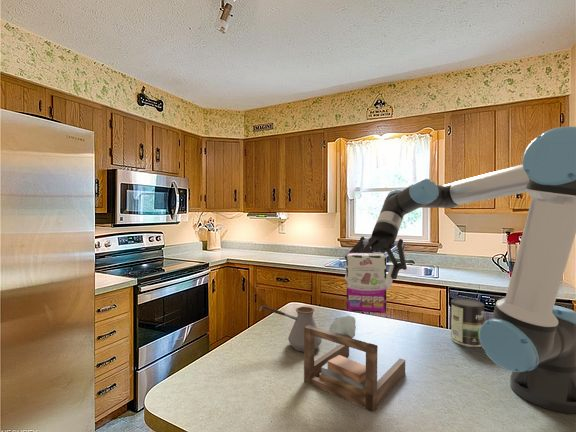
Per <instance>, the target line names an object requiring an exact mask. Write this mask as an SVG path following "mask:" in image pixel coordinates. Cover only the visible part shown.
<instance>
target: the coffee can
mask: <svg viewBox="0 0 576 432" xmlns="http://www.w3.org/2000/svg"><path fill="white" fill-rule="evenodd" d="M450 303H451V311H450V313H451V314H450V315H451V320H450V321H451V322H450V327H451V328H450V339H451V341H452V342H453V343H456V344H458V345H460V346H464V347H469V348H481V347H482V346H481V343H480V340H479V330H480V327H481V326H482V324H483V323H484V322H485V321H484V319H485V317H484V316H485V315H484V314H485V303H483V302H481V301H479V300H474V299H470V298H469V299H468V298H453V299H451V300H450Z"/></svg>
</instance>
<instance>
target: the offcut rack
mask: <svg viewBox="0 0 576 432" xmlns="http://www.w3.org/2000/svg"><path fill="white" fill-rule="evenodd" d="M314 336H316V337H319V338H322V340H326V341H330V342H333V343H336V344H339V345H336V346H335V347H334V348H332V349H331V350H329V351H328V352H326V353H324V354H323V355H322V356H320V357H318V358H316V359H315V350H314ZM378 346H379V345H377V344H375V343H374V344H373V343H371V342H370V343H369V342H366V341H362V340H359V339H356V338H354V337H353V338H349V337H346V336H343V335H339V334H336V333H332V332H329V330H325V329H322V328H318V327H317V328H316V327H313V326H310V325H308V326H306V327H304V352H303V382H304V383H306V384H307V385H308V384H309V385H312V386H314V387H316V388H319V389H321V390H323V391H326V392H328V393H330V394H331V395H333V396H337V397H339V398H341V399H342V400H346V401H348V402H350V403H353V404H354V405H356V406H359V407H361V408H364V409H365V410H366V411H370V412H371V413H374V412H376V410H377V409H378V406H379V405H380V404H381V403H382V402H383V400H385V398H386V397H387V395H389V393H390V392H391V391H392V390H393V389H394V388H395V387H396V386H397V384H398V383H399V382H400V381H401V380H402V378H403V377H404V376H405V375H406V359H403V358H399V359H397V361H395V363H394V364H393V365H392V366H391V367H390V368H389V369H388V370H386V372H385V373H384V374H383V375H382V376H381V377H380V378H379V379H378ZM350 348H351V349H355V350H358V351H361V352H364V353H365V366H366V385H365V397H363V396H361V395H359V394H356V393H354V392H351V391H349V390H347V389H344V388H342V387H339V386H337V385H335V384H332V383H330V382H327V381H325V380H323V379H320V378H319V374H320V373H321V367H322V366H323V365H325V364H326V363H327V362H328V361H329V360H331V359H332V358H334V357H336V356H338V355H341V356H343V357H346V358H348V356H350Z"/></svg>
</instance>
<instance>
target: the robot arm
mask: <svg viewBox="0 0 576 432" xmlns="http://www.w3.org/2000/svg"><path fill="white" fill-rule="evenodd" d="M525 193H527V194H528V195H529V196H530V197H531V201H530V205H529V208H528V212H527V215H526V216H527V217H526V220H525V224H524V227H523V232H522V235H521V239H520V242H519V246H518V250H517V253H516V257H515V261H514V265H513V268H512V272H511V277H510V280H509V283H508V287H507V291H506V295H505V297H504V298H500V299H498V300H497V301H496V302H495V306H494V310H493V314H492V318H489V319H486V320H485V321H484V323H483V324H482V326H481V327H480V330H479V340H480V343H481V347H482V349H483V350H484V351H485V355H487V357H488V358H489V359H490V360H491V361H492V362H493V364H495V365H497V366H498V367H500V368H502V369H504V370H506V371H509V372H511V374H510V376H509V377H510V378H509V380H510V381H509V384H510V385H509V386H510V388H511V390H512V391H513V392H514V393H515V394H516V395H518V396H519V397H520V398H522V399H524V400H525V401H527V402H529V403H531V404H534V405H535V406H538V407H541V408H543V409H546V410H550V411H554V412H556V413H557V412H558V413H563V414H572V415H573V413H576V310H573V309H570V308H568V307H567V308H566V307H564V306H559V305H555V303H556V301H557V300H556V299H557V296H558V294H559V290H560V287H561V284H562V280H563V277H564V274H565V270H566V267H567V263H568V261H569V258H570V253H571V251H572V247H573V243H574V240H575V237H576V126H559V127H555V128H552V129H548V130H546V131H544V132H542V133H541V134H539V135H538V136H537V137H535V138H534V139H533V140H531V142H530V143H529V144H528V145H527V147H526V149H525V150H524V154H523V156H522V164H519V165H518V164H517V165H515V166H511V167H507V168H502V169H499V170H495V171H492V172H488V173H484V174H480V175H476V176H473V177H469V178H466V179H465V178H464V179H461V180H458V181H454V182H450V183H447V184H442V185H441V184H439V185H438V184H436V183H435V182H434V181H433V180H431V179H430V178H422V179H420V180H417V181H415V182H413V183H412V184H411V185H409V186H407V187H406V188H404V189H397V190H394V189H393V190H390V191H389V193H387V196H386V197H385V199H384V202H383V205H382V208H381V210H380V212H379V215H378V217H377V220H376V222H375V225H374V227H373V229H372V231H371V236H370V237H369V238H365V236H361V237H360V239H359V240H358V242H357V243H356V244H355V245H354V246H353V247H352V248H351V250H349V251H348V253H384V254H385V253H387V255H388V258H389V260H390V261H391V263H392V265H389V270H388V272H387V273H386V280H385V283H384V285H385V287H386V291H390V290H391V287H392V283H393V280H396V279H397V278H398V274H399V271H401V270H403V271H406V270H407V269H408V267H407V263H406V256H405V252H404V248H405V242H404V239H402V238H399V239H398V240H397V237H398V233H399V231H400V228H401V225H402V222H403V219H404V217H405V215H407V214H409V213H412V212H413V211H416V210H417V209H419V208H420V209H421V208H427V209H428V208H429V209H431V208H432V209H434V208H435V209H437V208H438V209H439V208H441V209H452V208H453V209H454V208H456V207H459V206H461V205H466V204H471V203H472V204H473V203H475V202H476V203H477V202H482V201H487V200H492V199H498V198H503V197H509V196H514V195H519V194H525ZM393 247H395V248H397V251H398V256H399V262H398V261H397V259H396V257H395V255H394V254H393V252H392V250H391V249H392V248H393ZM346 256H347V254H346V255H345V256H344V259H345V260H346ZM345 270H346V271H347V266H346V268H345ZM344 280H345V282H346V283H347V272H346V273H345V276H344Z"/></svg>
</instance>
